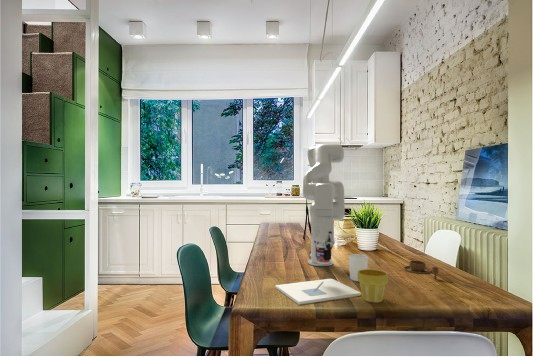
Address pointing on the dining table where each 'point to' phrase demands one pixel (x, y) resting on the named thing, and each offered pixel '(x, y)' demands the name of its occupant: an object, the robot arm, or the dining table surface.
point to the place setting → (420, 268)
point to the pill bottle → (321, 254)
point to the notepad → (316, 291)
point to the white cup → (357, 265)
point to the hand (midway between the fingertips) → (323, 257)
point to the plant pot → (372, 284)
